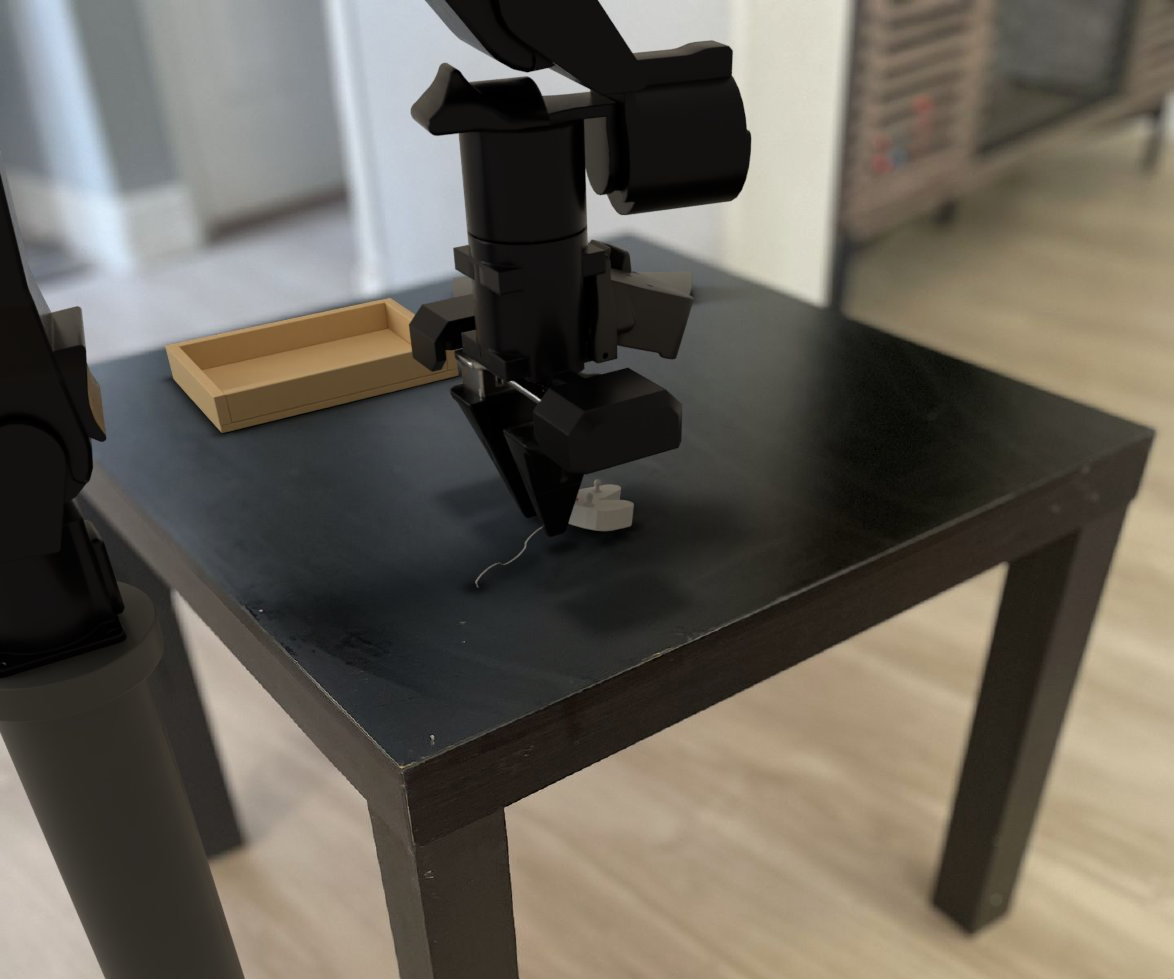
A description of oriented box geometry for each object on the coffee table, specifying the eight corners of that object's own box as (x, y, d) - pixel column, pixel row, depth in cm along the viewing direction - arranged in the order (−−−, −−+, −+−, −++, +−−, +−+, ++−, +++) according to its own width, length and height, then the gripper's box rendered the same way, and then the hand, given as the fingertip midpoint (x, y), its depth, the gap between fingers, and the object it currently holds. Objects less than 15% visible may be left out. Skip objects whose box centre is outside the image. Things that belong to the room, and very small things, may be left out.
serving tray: (221, 433, 81) (213, 397, 79) (173, 379, 89) (164, 345, 87) (459, 375, 88) (455, 340, 86) (394, 329, 95) (390, 297, 94)
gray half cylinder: (457, 293, 102) (455, 270, 101) (690, 286, 101) (690, 264, 100) (452, 310, 99) (450, 287, 97) (693, 303, 98) (693, 280, 97)
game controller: (650, 508, 71) (650, 466, 69) (574, 608, 63) (572, 563, 61) (560, 493, 73) (558, 452, 71) (475, 589, 64) (470, 545, 63)
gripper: (784, 243, 54) (762, 554, 64) (575, 162, 67) (584, 432, 77) (568, 291, 50) (581, 615, 60) (388, 195, 63) (423, 476, 73)
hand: (544, 524), depth 68 cm, fingers closed on game controller, 2 cm apart
